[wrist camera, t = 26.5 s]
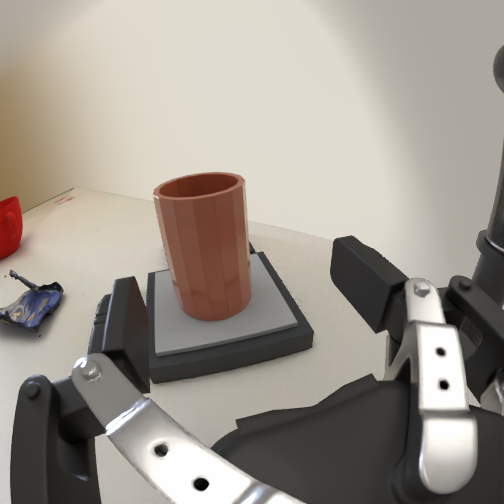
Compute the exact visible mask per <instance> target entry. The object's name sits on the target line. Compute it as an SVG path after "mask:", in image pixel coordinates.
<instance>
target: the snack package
mask: <svg viewBox="0 0 504 504" xmlns="http://www.w3.org/2000/svg"><path fill="white" fill-rule="evenodd" d="M9 275H10V276H11V277H15V279H18V280H20V281H21V282H22V283H24V284H25V285H26V286H27V287H29V288H30V291H29V290H28V291H27V292H24V293H23V294H22V295H21V296H20V297H19V299H18V300H17V301H16V302H15V303H14V304H11V305H10V306H8V307H5V308H0V321H1V322H3V323H6V324H9V325H11V326H16V327H18V326H19V327H20V326H21V327H26V328H28V329H30V330H34V331H35V332H38V329H39V326H40V323H41V321H42V318H43V316H44V315H45V314H46V313H49V312H50V314H52V315H53V313H54V310H55V309H56V307H57V306H59V303H60V300H61V296H62V293H63V288H62V287H61V286H60V285H59V284H58V283H57V282H54V283H52V284H50V285H43V286H41V287H39V286H36V285H35V284H33V283H31V282H29V281H28V280H26V279H25V278H23V277H20V276H18V274H17V273H16V272H14V271H12V270H11V271H10V274H9ZM5 277H6V276H5ZM12 279H13V278H12ZM40 336H41V335H40ZM40 336H39V337H40Z"/></svg>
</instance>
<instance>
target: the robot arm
mask: <svg viewBox="0 0 504 504" xmlns="http://www.w3.org/2000/svg"><path fill="white" fill-rule="evenodd" d="M493 73H494V77H495V81H496V83H497V85H498V87H499V88H500V89H501V90H502V92H503V93H504V45H503V46H502V47H501V48H500V49H499V51H498V52H497V54H496V56H495V59H494V64H493ZM485 239H486V241H487V243H488V244H489V245H490V246H491V247H492V248H494V249H495V250H496V251H498V252H499V253H501V254H502V255H504V141H503V152H502V161H501V167H500V175H499V181H498V186H497V191H496V196H495V201H494V205H493V210H492V213H491V217H490V221H489V225H488V228H487V231H486V233H485ZM330 275H331V279H332V281H333V283H334V284H335V286H336V287H337V288H338V289H339V290H340V291H341V293H342V294H343V295H344V296H345V297H346V299H347V300H348V301H349V302H350V303H351V304H352V306H353V307H354V308H355V309H356V310H357V312H358V313H359V314H360V315H361V316H362V318H363V319H364V320H365V321H366V323H367V324H368V325H369V326H370V327H371V329H372V330H373V331H374V332H375V334H377V333H379V332H382V331H384V330H387V331H388V335H387V338H386V359H385V373H384V378H383V381H377V380H376V379H375V377H374V376H373V375H372V373H371V374H369V375H367V376H365V377H362V378H360V379H358V380H356V381H353V382H351V383H349V384H346V385H344V386H342V387H341V388H339V389H338V390H337V391H335V392H334V393H332V394H331V395H330V396H328V397H327V398H325V399H324V400H322V401H321V402H319V403H318V404H316V405H314V406H311V407H304V408H294V409H282V410H272V411H268V412H264V413H261V414H257V415H253V416H249V417H245V418H241V419H236V424H237V427H238V429H236V430H234V431H232V432H230V433H228V434H227V435H225V436H224V437H222V438H221V439H220V440H218V441H217V442H216V443H215V444H214V445H213V446H212V447H211V448H208V447H207V446H206V445H204V444H203V443H202V442H200V441H199V440H198V439H197V438H195V437H194V436H193V435H192V434H190V433H189V432H188V431H187V430H185V429H184V428H183V427H182V426H181V425H179V424H178V423H177V422H176V421H175V420H174V419H172V418H171V417H170V416H169V415H168V414H167V413H166V412H164V411H163V410H162V409H161V408H160V407H159V406H158V405H157V404H156V403H155V402H154V401H152V400H151V399H150V398H148V397H147V398H146V397H144V396H143V395H142V394H145V393H150V376H149V319H148V313H147V310H146V306H145V304H144V301H143V298H142V295H141V293H140V290H139V287H138V284H137V281H136V279H135V277H134V276H132V277H127V278H121V279H116V280H115V281H114V285H113V290H112V294H108V295H105V296H104V297H103V299H102V300H101V301H100V303H99V304H98V307H97V311H96V317H95V319H94V325H93V328H92V332H91V337H90V342H89V347H88V353H87V355H86V356H84V357H83V358H81V359H80V360H79V361H78V362H77V363H76V364H75V366H74V368H73V371H72V376H69V377H67V378H64V379H62V380H59V381H57V382H54V383H51V382H50V381H49V380H48V379H47V378H46V377H45V376H43V375H33V376H31V377H29V378H28V379H26V380H25V381H24V383H23V384H22V386H21V388H20V390H19V394H18V400H17V405H16V411H15V418H14V425H13V434H12V445H11V462H10V489H11V504H102V503H101V497H100V491H99V483H98V475H97V466H96V454H95V436H98V435H101V434H104V433H105V434H106V435H107V437H108V438H109V439H110V441H111V442H112V443H113V444H114V445H115V447H116V448H117V449H118V450H119V451H120V453H121V454H122V455H123V456H124V457H125V458H126V459H127V461H128V462H129V463H130V464H131V465H132V466H133V467H134V468H135V469H136V470H137V471H138V472H139V473H140V474H141V475H142V476H143V478H144V479H145V480H146V481H147V482H149V483H150V484H151V485H152V486H153V487H154V488H155V489H156V490H157V491H158V492H159V493H160V494H161V495H162V496H163V497H165V498H166V499H167V500H168V501H169V502H170V503H171V504H504V310H503V309H502V308H501V307H500V306H499V305H498V304H497V303H496V302H495V301H494V300H493V299H492V298H491V297H490V296H488V295H487V294H486V293H485V292H484V291H483V290H482V289H481V288H480V287H479V286H478V285H476V284H475V283H474V282H473V281H472V280H470V279H469V278H467V277H464V276H453V277H452V278H451V280H450V282H449V285H448V287H446V288H436V286H435V285H434V284H432V283H431V282H430V281H427V280H425V279H422V278H411V279H409V278H408V277H407V276H406V275H404V274H403V273H402V272H401V271H400V270H399V269H397V268H396V267H395V266H394V265H393V264H391V262H389V261H388V260H387V259H386V258H385V257H382V255H381V254H380V253H379V252H377V251H376V250H375V249H373V248H371V247H368V246H366V245H364V244H363V243H361V242H360V241H359V240H358V239H356V238H355V237H354V236H346V237H341V238H336V239H335V240H334V242H333V250H332V259H331V267H330ZM466 317H467V318H468V319H469V320H470V321H471V322H472V323H473V324H474V325H475V326H476V327H477V328H478V329H479V330H480V332H481V334H482V342H481V344H480V345H479V347H478V348H477V347H476V346H475V344H474V343H473V342H472V341H471V340H470V339H469V338H468V336H467V335H466V334H465V333H464V332H463V331H462V330H461V327H462V325H463V323H464V321H465V319H466ZM467 386H468V388H469V389H470V391H471V392H472V393H473V395H474V396H475V398H476V399H477V401H478V402H479V403H480V405H481V407H480V408H479V407H476V406H473V405H469V402H468V391H467Z"/></svg>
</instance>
